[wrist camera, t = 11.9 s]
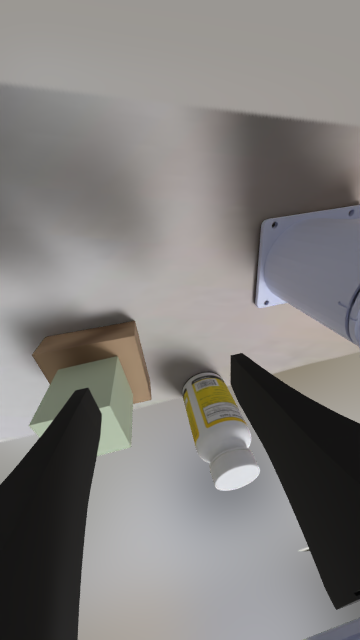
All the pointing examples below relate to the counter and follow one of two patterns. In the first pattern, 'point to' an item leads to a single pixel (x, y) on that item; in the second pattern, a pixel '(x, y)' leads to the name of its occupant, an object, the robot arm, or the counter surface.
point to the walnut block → (98, 354)
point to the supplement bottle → (219, 432)
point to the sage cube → (106, 391)
